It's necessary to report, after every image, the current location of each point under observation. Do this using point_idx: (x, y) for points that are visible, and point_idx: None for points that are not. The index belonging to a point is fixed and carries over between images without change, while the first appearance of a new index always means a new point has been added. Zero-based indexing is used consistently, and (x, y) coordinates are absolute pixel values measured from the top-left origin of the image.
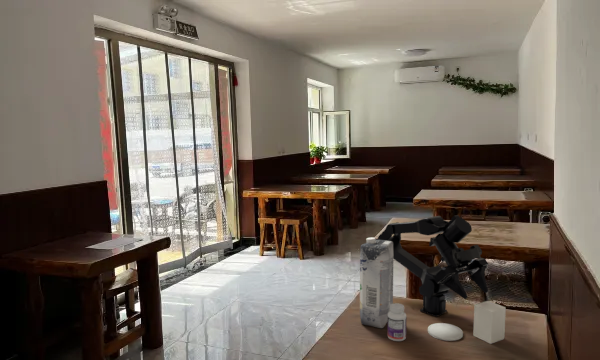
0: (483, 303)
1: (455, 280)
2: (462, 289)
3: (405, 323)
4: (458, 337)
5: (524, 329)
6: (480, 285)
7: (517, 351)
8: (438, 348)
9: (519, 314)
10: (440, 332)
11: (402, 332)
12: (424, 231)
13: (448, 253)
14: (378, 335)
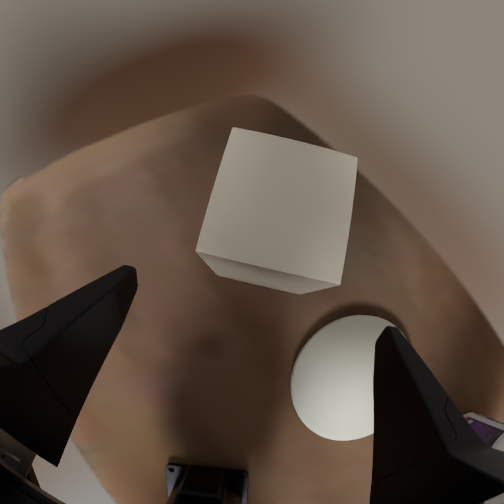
0: (271, 250)
1: (487, 448)
2: (428, 375)
3: (494, 427)
4: (373, 316)
5: (113, 182)
6: (100, 346)
7: (296, 138)
8: (453, 323)
9: (20, 246)
10: None
11: (486, 418)
12: None
13: None
14: None
